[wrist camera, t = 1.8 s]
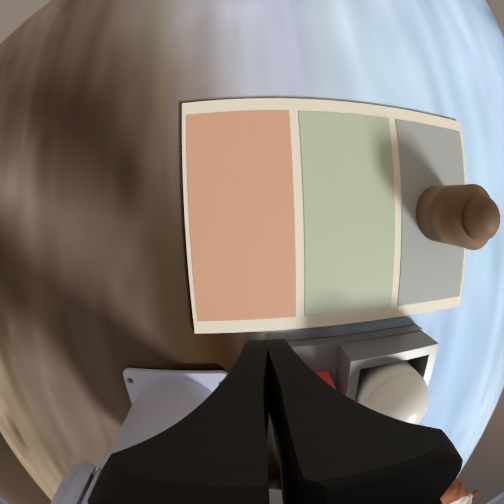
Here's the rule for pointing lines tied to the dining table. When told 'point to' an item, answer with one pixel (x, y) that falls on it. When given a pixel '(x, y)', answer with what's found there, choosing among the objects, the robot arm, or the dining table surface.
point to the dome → (394, 391)
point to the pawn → (458, 215)
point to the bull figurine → (457, 494)
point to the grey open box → (366, 354)
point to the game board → (314, 213)
